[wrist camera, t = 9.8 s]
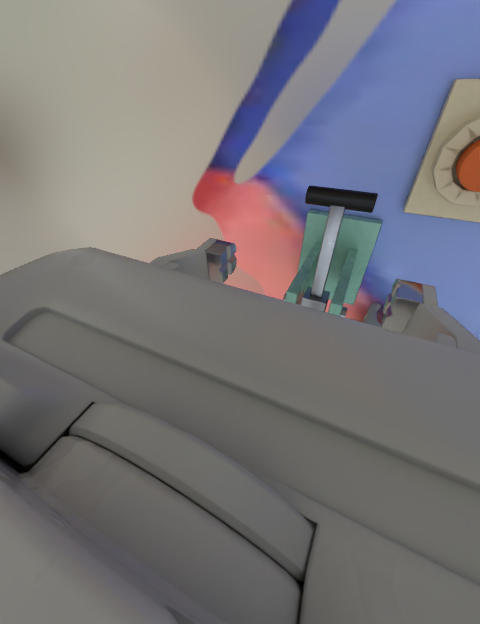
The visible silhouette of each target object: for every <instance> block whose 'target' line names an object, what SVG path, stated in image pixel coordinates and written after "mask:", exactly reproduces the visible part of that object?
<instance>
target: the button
mask: <svg viewBox="0 0 480 624" xmlns="http://www.w3.org/2000/svg"><path fill="white" fill-rule="evenodd" d="M456 176H457V178H458V180H459V181H460V183H461V184H462V185H463V186H464V187H465V188H466V189H468V190H471V191H475V192H480V140H478V141H476V142H474V143H473V144H472V145H470V146H469V147H468V148H467V149H466V150H465V151H464V152H463V153H462V155H461V156H460V158H459V160H458V162H457V165H456Z"/></svg>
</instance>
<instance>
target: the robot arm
mask: <svg viewBox="0 0 480 624" xmlns="http://www.w3.org/2000/svg"><path fill="white" fill-rule="evenodd" d="M235 252H236V245H235V244H234V243H230V242H226V241H222V240H218V239H212V238H210V239H208V240H207V241H206V242H205V243H203V244H202V245H201V246H200V247H198V248H197V249H192V250H187V251H183V252H179V253H175V254H171V255H166V256H162V257H158V258H156V259H155V260H153V261H152V262H151V263H146V262H142V261H138V260H135V259H132V258H128V257H125V256H121V255H117V254H114V253H110V252H106V251H103V250H100V249H96V248H91V247H89V248H79V249H72V250H66V251H61V252H56V253H53V254H49V255H46V256H44V257H41V258H39V259H36V260H34V261H32V262H29V263H27V264H25V265H22V266H20V267H18V268H15V269H13V270H10V271H8V272H6V273H4V274H1V275H0V624H480V340H479V339H477V338H476V337H475V336H474V335H473V334H472V333H470V332H469V331H468V330H467V329H466V328H465V327H463V326H462V325H461V324H460V323H459V322H458V321H456V320H455V319H454V318H453V317H452V316H451V315H449V314H448V313H447V312H446V311H445V310H444V309H442V308H440V307H438V302H437V295H436V289H435V287H434V286H431V285H425V284H420V283H415V282H410V281H405V280H400V279H396V280H395V282H394V284H393V286H392V293H390V294H389V295H388V297H387V299H386V302H385V305H384V309H383V314H384V316H383V319H382V328H381V327H377V326H374V325H370V324H367V323H363V322H359V321H356V320H352V319H349V318H345V317H341V316H338V315H334V314H330V313H327V312H323V311H320V310H316V309H312V308H309V307H305V306H301V305H298V304H294V303H291V302H287V301H283V300H280V299H276V298H273V297H269V296H265V295H262V294H258V293H254V292H251V291H247V290H243V289H240V288H236V287H233V286H229V285H226V284H223V283H224V281H226V279H227V278H228V275H229V274H232V273H233V271H234V269H235V267H236V257H235V255H234V253H235Z"/></svg>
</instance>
